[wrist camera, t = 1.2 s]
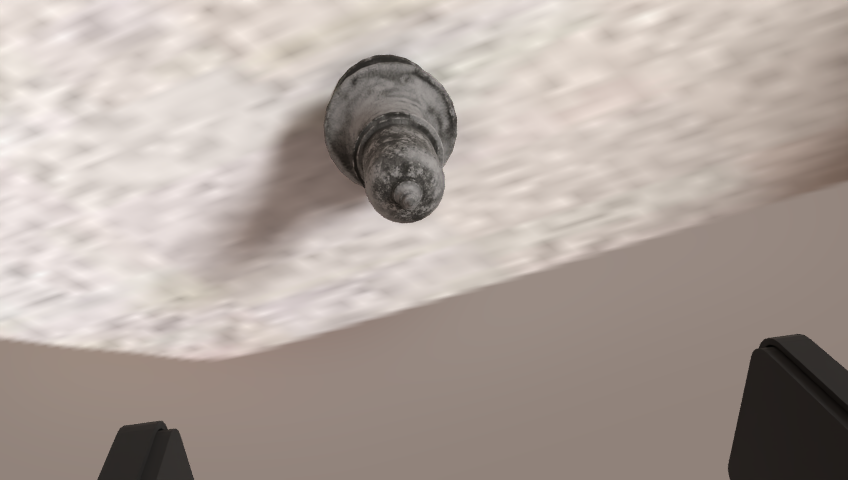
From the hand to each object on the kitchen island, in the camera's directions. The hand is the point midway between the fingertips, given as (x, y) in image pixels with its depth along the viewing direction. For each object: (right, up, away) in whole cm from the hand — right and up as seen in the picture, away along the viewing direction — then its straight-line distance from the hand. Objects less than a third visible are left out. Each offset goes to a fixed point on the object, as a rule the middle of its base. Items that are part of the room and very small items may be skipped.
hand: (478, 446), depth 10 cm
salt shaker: (-3, +10, +21) cm, 23 cm away
